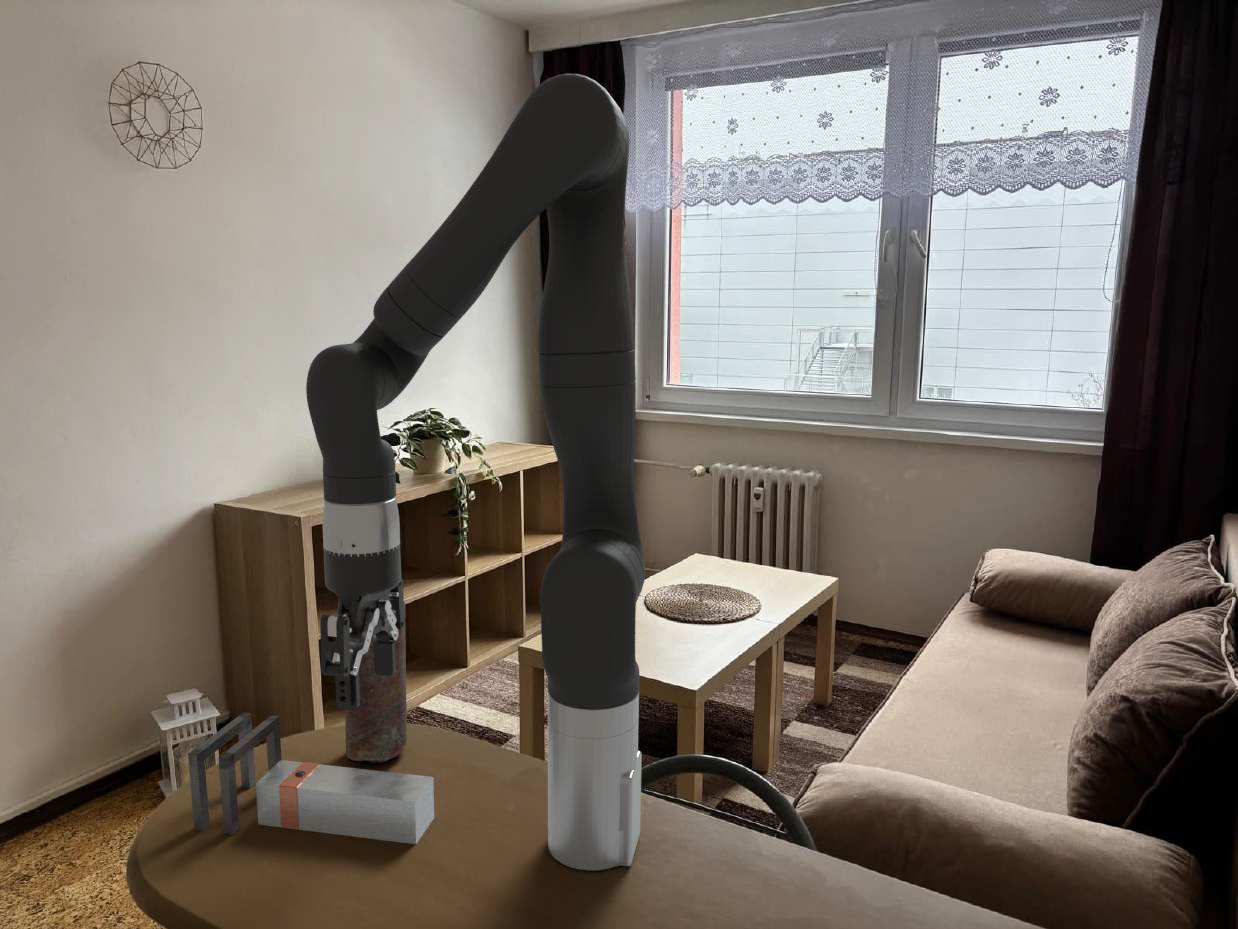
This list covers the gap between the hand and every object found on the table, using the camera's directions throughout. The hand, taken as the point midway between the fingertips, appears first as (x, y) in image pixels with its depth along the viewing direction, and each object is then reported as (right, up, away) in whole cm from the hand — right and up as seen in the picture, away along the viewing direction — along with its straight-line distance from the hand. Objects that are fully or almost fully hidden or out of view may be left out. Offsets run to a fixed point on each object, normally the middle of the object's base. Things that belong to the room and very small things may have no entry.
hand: (367, 690), depth 96 cm
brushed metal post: (-3, -15, +3) cm, 16 cm away
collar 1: (-17, -14, +6) cm, 23 cm away
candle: (-4, -13, +17) cm, 22 cm away
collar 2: (-14, -14, +5) cm, 21 cm away
